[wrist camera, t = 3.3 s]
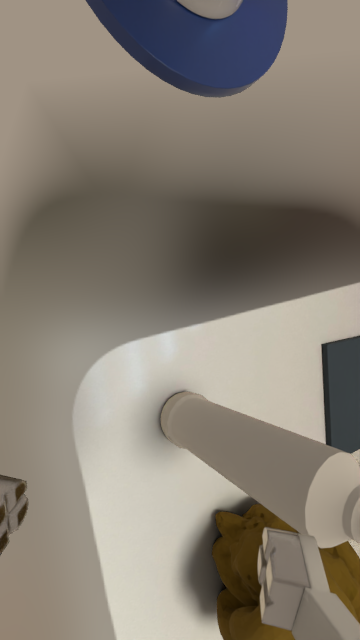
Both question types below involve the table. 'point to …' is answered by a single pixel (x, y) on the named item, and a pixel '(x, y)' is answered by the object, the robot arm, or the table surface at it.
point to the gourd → (242, 574)
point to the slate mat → (342, 393)
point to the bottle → (272, 466)
